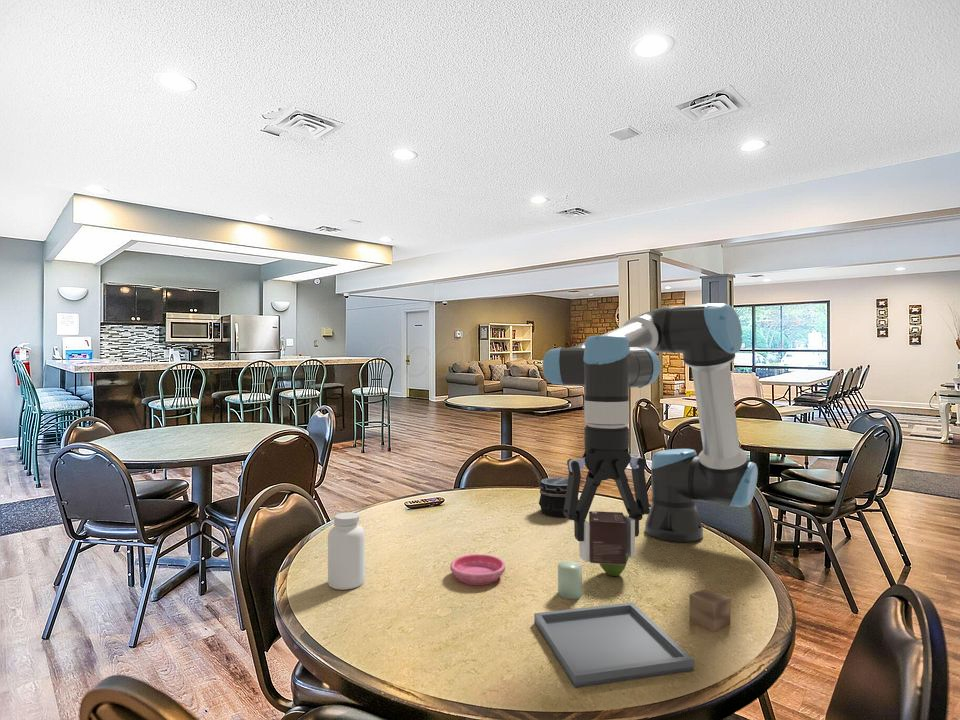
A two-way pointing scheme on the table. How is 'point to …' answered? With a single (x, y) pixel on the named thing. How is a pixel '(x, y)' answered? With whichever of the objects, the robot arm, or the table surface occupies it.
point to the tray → (610, 644)
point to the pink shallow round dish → (477, 569)
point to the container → (553, 496)
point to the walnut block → (710, 609)
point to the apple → (614, 568)
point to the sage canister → (569, 580)
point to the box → (607, 538)
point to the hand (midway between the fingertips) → (607, 556)
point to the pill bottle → (346, 552)
